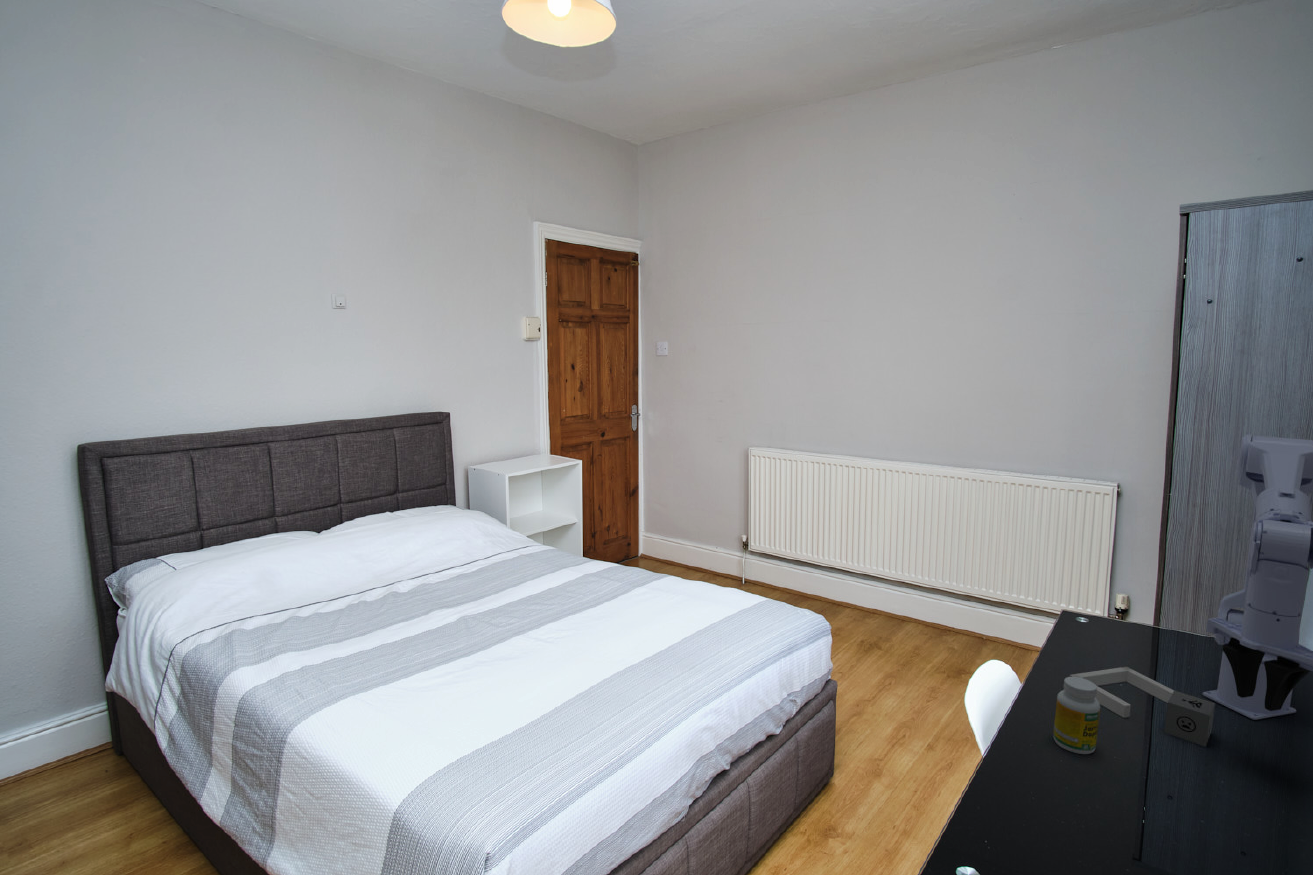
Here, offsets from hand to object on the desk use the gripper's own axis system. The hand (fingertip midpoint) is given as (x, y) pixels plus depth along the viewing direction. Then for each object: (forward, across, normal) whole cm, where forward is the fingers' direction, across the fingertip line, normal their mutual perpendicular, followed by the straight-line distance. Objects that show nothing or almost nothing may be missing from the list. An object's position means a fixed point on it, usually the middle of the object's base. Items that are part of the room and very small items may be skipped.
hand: (1258, 702), depth 93 cm
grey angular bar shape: (+9, -18, 0) cm, 21 cm away
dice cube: (+10, -8, 0) cm, 13 cm away
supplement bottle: (+10, -10, -20) cm, 24 cm away
